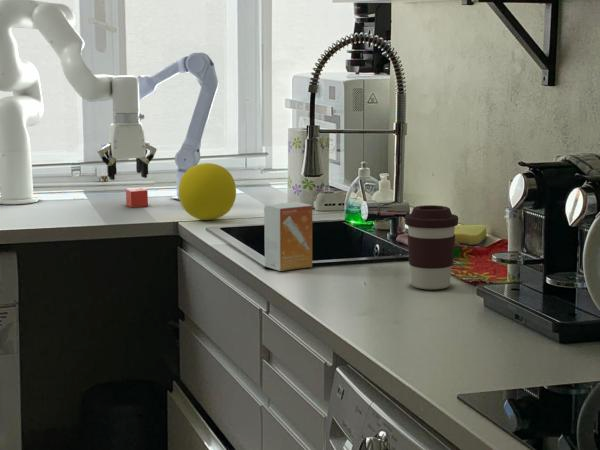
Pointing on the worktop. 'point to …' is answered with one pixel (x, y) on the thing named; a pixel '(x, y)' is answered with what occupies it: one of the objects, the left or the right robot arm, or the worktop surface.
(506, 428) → the worktop surface
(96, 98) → the left robot arm
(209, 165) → the toy
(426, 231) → the coffee cup
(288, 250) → the small box
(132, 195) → the red cube
